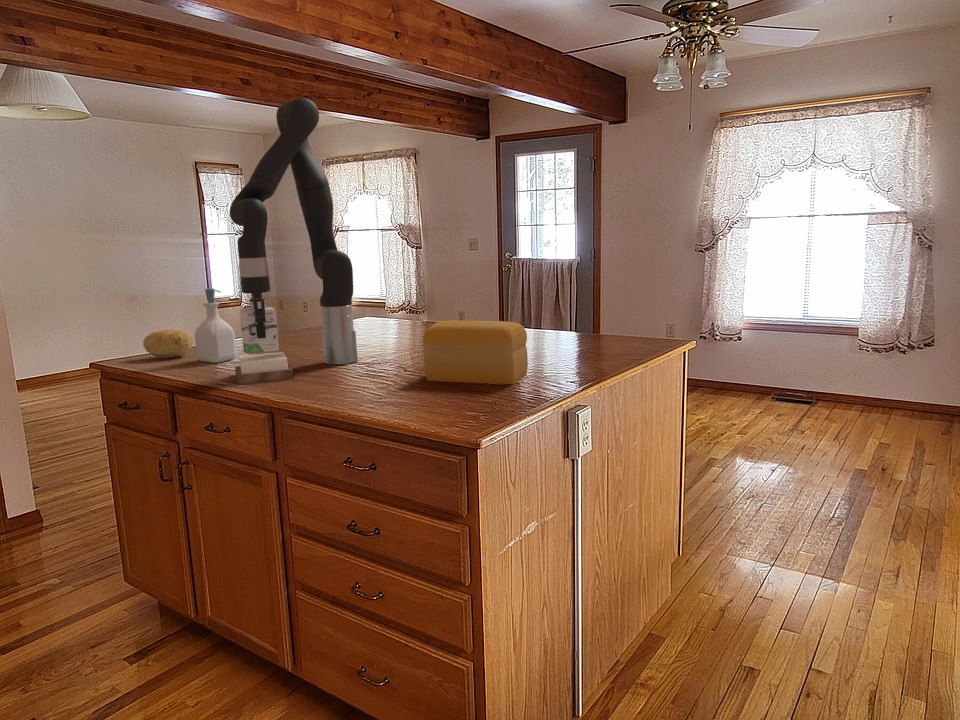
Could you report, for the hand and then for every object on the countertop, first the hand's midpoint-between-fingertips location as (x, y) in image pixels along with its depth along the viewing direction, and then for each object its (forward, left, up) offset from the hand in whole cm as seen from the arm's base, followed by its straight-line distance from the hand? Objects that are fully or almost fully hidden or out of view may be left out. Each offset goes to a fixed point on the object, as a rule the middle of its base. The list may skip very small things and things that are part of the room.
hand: (260, 336), depth 188 cm
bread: (-50, +32, -12) cm, 61 cm away
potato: (+25, -49, -11) cm, 56 cm away
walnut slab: (0, 0, -12) cm, 12 cm away
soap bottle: (+11, -34, -11) cm, 38 cm away
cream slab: (0, 0, -9) cm, 9 cm away
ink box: (0, 0, -4) cm, 4 cm away
